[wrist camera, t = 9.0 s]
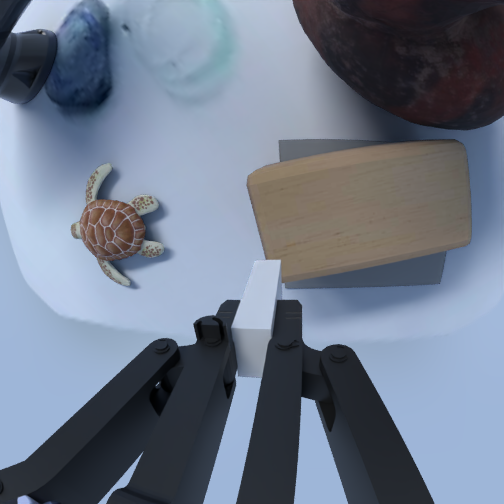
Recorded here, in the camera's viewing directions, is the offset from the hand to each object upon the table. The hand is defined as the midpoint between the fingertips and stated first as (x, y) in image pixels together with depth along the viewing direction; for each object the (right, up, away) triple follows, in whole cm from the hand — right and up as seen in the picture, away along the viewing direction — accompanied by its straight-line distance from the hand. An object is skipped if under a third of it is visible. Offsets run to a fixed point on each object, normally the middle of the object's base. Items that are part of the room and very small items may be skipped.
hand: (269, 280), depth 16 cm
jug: (+16, +27, +5) cm, 32 cm away
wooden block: (0, +5, +10) cm, 11 cm away
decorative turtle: (-20, +6, +20) cm, 29 cm away
